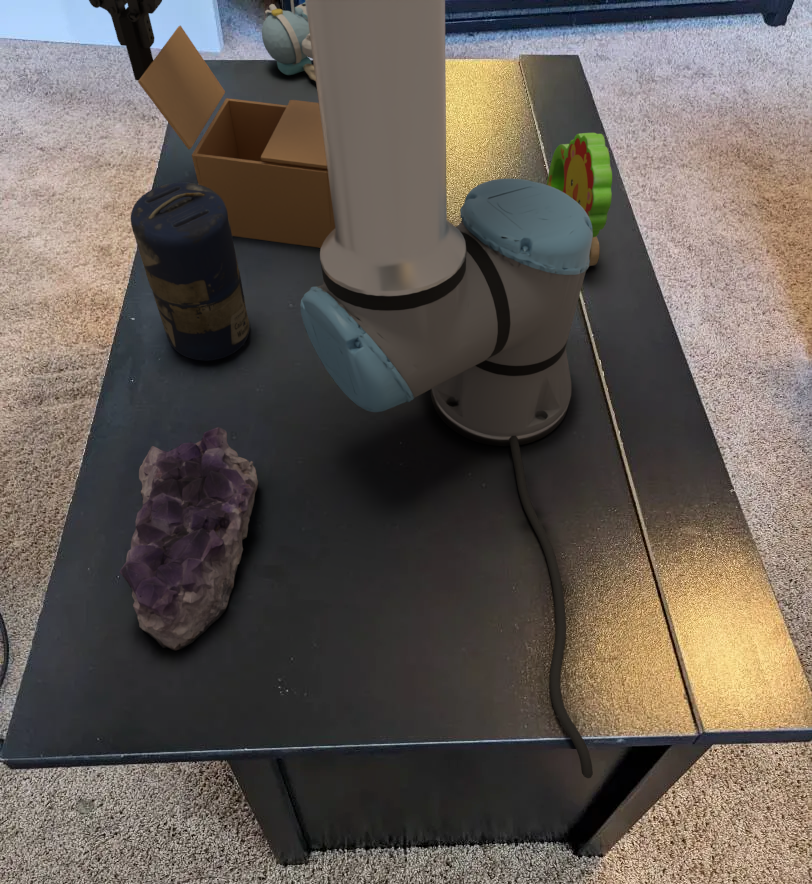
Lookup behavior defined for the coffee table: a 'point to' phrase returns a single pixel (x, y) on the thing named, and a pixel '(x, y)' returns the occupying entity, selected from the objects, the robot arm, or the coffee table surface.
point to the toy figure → (289, 39)
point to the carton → (269, 170)
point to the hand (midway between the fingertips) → (145, 74)
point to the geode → (188, 537)
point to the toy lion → (585, 179)
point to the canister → (192, 269)
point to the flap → (182, 87)
